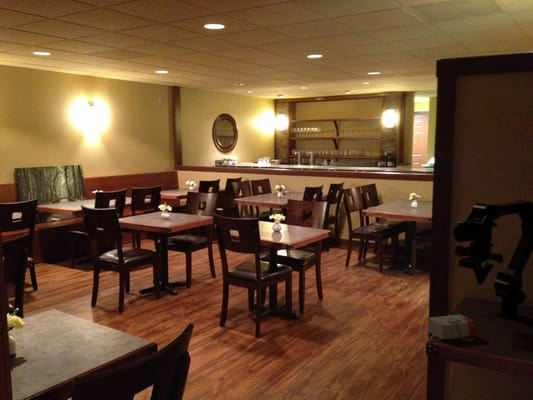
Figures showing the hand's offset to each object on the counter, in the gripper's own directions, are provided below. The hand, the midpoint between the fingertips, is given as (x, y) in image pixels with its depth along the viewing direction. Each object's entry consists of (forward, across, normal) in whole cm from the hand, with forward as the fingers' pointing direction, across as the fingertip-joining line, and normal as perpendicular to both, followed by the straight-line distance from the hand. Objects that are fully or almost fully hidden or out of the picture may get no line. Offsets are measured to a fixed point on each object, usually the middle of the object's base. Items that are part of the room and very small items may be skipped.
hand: (479, 284), depth 160 cm
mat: (+13, +18, +5) cm, 23 cm away
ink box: (+10, +13, +4) cm, 17 cm away
